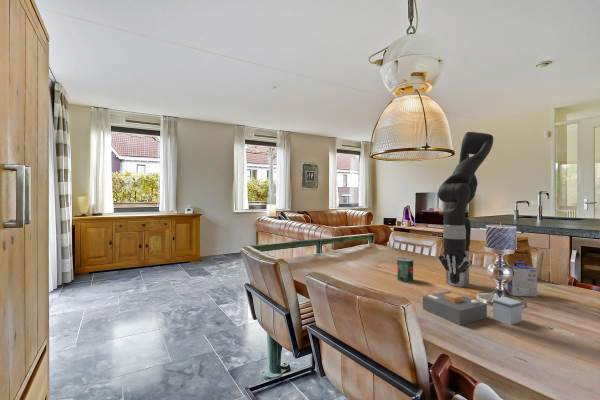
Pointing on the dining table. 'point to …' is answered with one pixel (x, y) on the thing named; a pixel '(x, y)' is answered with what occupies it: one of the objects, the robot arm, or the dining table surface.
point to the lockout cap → (507, 310)
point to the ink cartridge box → (523, 280)
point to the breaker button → (453, 297)
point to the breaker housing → (455, 308)
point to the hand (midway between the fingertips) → (454, 283)
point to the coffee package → (520, 253)
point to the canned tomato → (405, 269)
